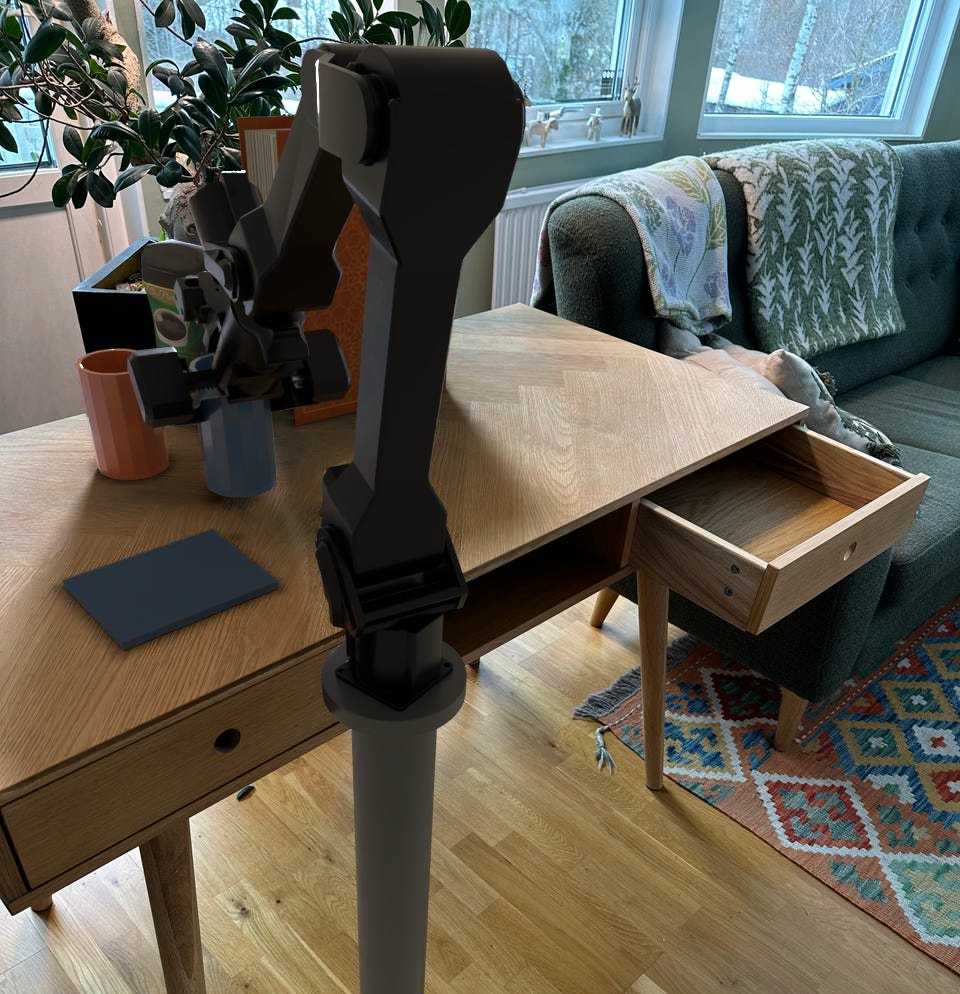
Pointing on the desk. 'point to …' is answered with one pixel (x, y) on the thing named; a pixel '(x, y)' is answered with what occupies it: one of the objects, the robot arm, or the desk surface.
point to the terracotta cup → (118, 418)
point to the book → (346, 312)
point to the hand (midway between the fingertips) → (230, 413)
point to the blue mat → (168, 587)
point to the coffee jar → (172, 295)
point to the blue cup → (236, 443)
